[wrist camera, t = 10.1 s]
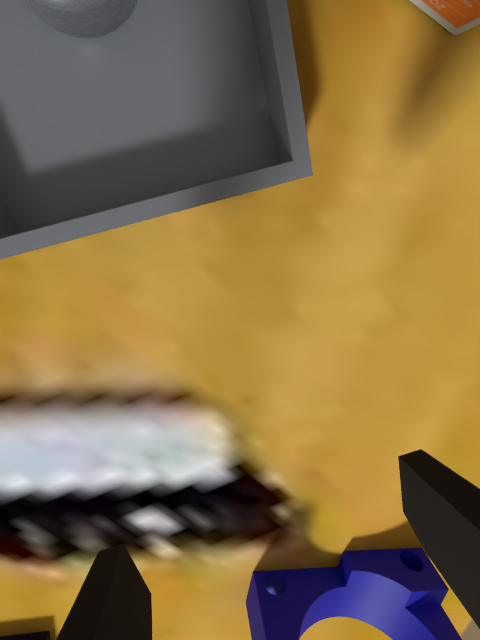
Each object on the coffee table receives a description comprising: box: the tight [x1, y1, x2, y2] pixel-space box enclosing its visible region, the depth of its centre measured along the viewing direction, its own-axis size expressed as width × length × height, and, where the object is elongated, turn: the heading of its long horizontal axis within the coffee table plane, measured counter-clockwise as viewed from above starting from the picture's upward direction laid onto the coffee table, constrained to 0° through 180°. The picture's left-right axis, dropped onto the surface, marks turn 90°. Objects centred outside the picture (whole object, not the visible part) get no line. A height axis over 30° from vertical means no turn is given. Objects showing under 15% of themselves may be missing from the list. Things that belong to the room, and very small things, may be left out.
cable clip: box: [246, 548, 462, 640], centre depth 23 cm, size 12×4×6 cm, turn 81°
